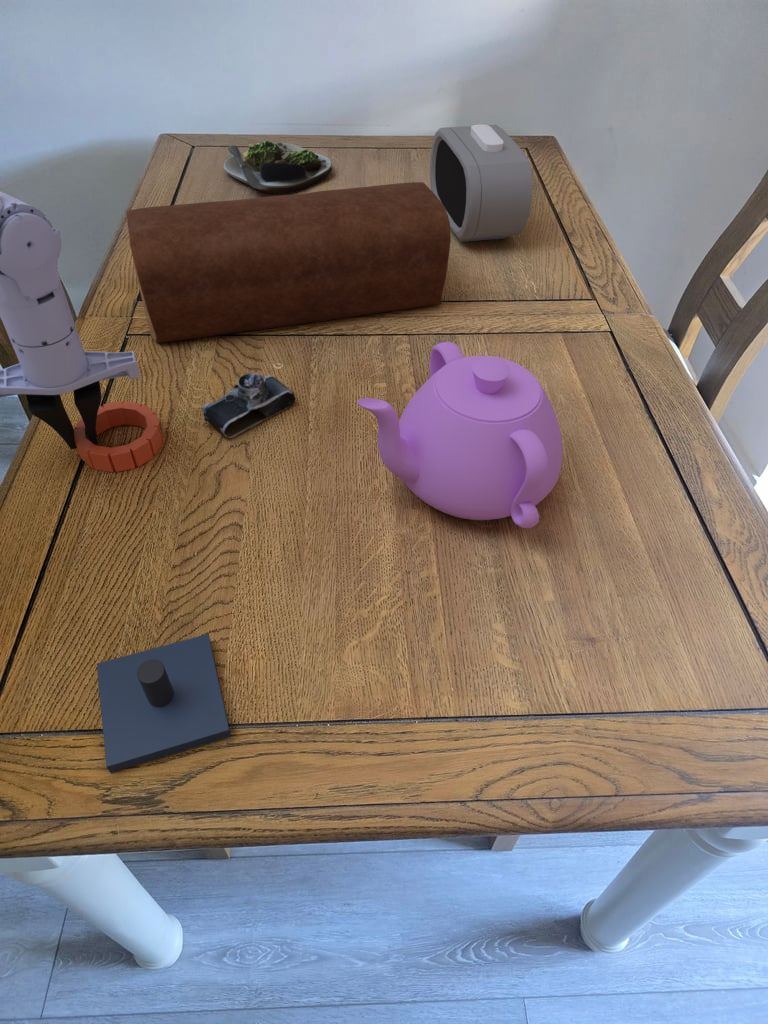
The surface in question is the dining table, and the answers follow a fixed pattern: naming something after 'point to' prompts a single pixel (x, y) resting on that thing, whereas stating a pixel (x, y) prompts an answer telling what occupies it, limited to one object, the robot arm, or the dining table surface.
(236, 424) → the camera
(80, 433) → the segmented red ring
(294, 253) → the bread
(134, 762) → the ring stacking peg
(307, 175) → the salad plate
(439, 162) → the alarm clock
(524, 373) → the teapot
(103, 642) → the dining table surface
